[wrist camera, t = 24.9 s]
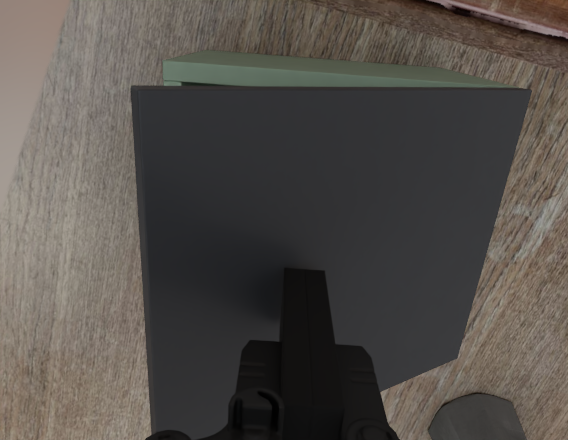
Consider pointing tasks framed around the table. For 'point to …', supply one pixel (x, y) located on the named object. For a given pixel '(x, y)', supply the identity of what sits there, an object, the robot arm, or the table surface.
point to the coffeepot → (477, 420)
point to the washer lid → (311, 224)
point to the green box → (305, 72)
